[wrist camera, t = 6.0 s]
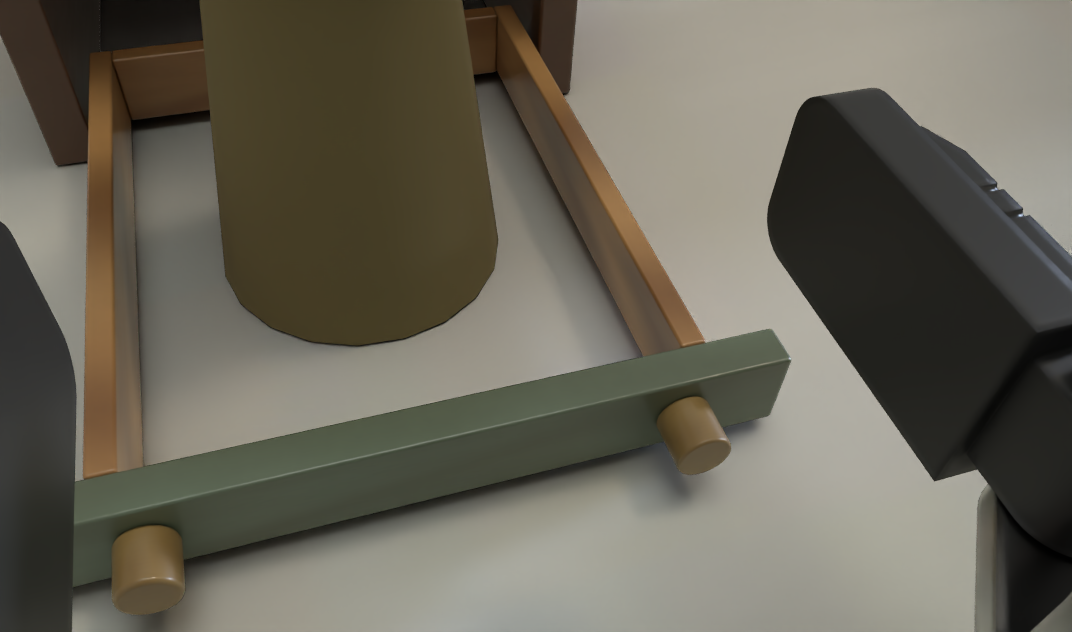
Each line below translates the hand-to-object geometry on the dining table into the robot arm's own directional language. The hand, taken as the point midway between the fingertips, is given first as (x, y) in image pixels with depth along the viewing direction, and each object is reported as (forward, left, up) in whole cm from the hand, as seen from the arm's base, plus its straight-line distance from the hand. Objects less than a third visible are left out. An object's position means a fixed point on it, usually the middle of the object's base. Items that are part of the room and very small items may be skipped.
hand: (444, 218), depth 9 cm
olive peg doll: (-5, -7, -8) cm, 11 cm away
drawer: (-4, -6, -7) cm, 10 cm away
